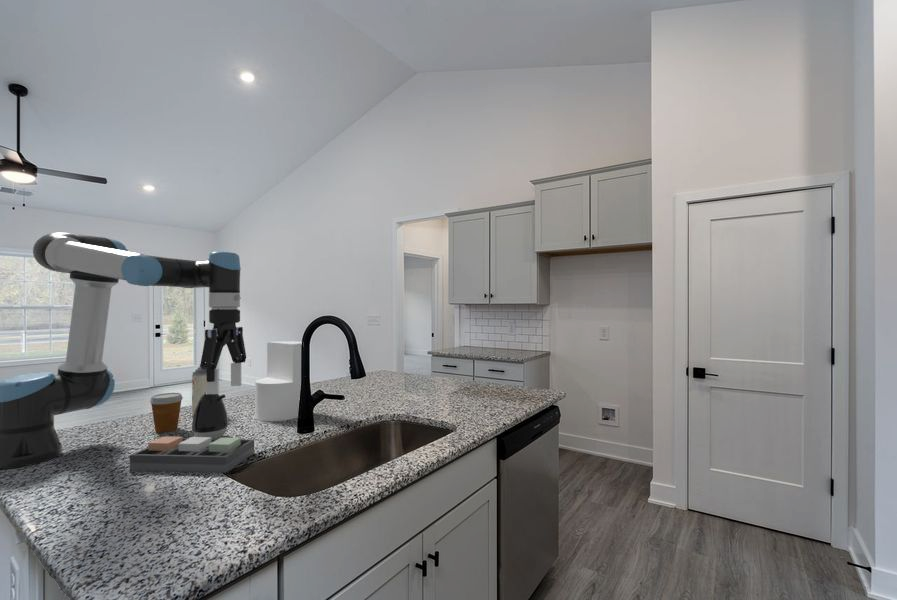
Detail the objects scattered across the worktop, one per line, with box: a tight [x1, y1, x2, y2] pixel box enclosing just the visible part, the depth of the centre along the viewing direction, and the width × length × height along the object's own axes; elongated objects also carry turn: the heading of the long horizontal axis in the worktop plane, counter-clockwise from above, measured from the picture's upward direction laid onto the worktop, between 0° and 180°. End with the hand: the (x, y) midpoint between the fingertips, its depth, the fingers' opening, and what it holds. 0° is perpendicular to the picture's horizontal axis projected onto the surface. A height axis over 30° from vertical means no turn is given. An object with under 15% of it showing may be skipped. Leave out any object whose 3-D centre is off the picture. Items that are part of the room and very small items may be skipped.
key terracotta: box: [148, 435, 183, 451], centre depth 117 cm, size 6×6×2 cm
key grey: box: [178, 436, 211, 451], centre depth 116 cm, size 6×6×2 cm
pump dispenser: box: [191, 393, 229, 439], centre depth 136 cm, size 10×10×15 cm
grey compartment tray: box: [129, 437, 255, 474], centre depth 116 cm, size 26×14×4 cm, turn 86°
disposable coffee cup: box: [149, 392, 184, 434], centre depth 145 cm, size 10×10×12 cm
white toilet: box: [254, 340, 303, 422], centre depth 164 cm, size 17×17×28 cm
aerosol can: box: [191, 366, 207, 418], centre depth 164 cm, size 7×7×20 cm
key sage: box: [209, 437, 241, 452], centre depth 116 cm, size 6×6×2 cm
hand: (224, 389), depth 116 cm, fingers open, 10 cm apart
